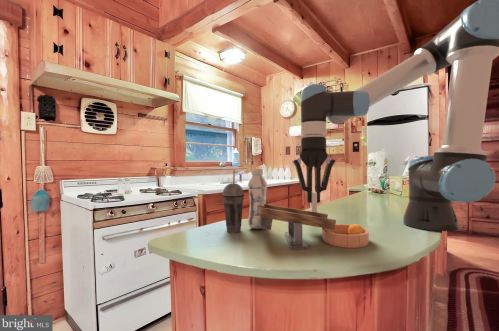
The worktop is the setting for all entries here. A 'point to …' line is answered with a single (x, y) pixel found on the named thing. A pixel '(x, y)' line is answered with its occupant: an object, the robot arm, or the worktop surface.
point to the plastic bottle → (256, 197)
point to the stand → (295, 236)
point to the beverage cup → (233, 205)
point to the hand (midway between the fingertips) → (313, 213)
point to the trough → (292, 217)
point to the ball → (355, 229)
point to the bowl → (345, 237)
